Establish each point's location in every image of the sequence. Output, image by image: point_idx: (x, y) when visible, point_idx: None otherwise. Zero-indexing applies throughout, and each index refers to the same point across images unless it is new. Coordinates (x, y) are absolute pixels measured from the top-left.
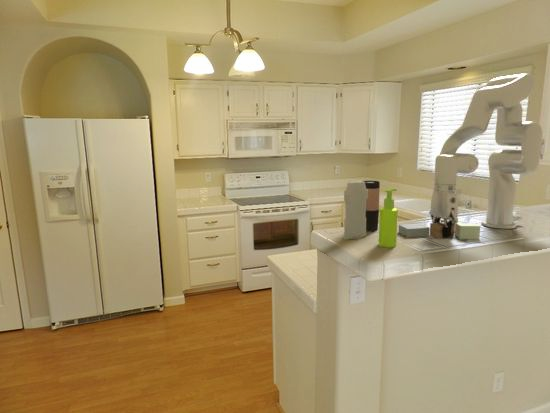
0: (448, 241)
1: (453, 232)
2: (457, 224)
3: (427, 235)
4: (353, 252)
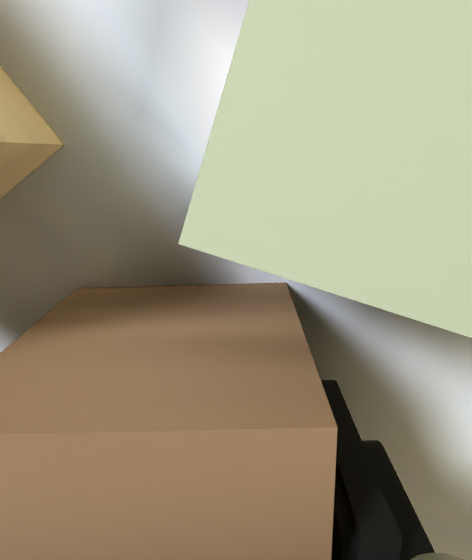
0: (461, 494)
1: (295, 317)
2: (346, 296)
3: None
4: None
